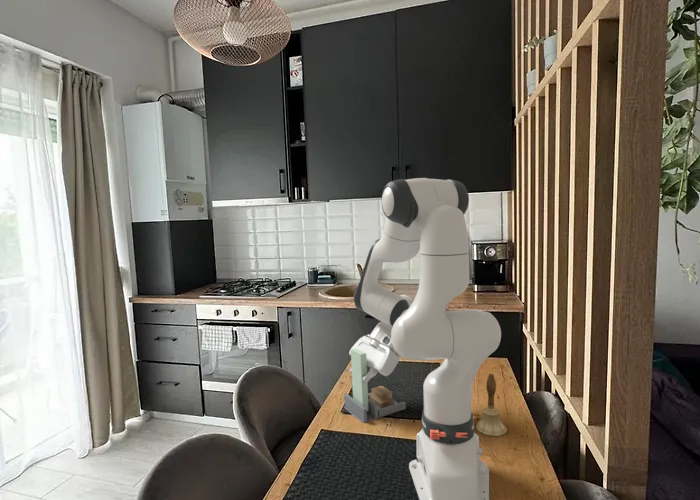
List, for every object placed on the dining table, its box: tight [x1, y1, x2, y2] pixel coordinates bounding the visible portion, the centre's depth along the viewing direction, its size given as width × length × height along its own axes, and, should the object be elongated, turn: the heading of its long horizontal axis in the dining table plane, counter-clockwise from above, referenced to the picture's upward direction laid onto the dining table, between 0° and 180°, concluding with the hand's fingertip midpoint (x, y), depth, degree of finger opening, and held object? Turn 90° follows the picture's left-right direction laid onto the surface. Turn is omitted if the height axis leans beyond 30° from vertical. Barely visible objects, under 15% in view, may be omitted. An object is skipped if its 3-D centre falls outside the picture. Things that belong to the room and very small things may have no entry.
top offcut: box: [370, 385, 393, 403], centre depth 130 cm, size 4×6×2 cm, turn 29°
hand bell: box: [475, 373, 508, 437], centre depth 115 cm, size 8×8×16 cm
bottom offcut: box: [370, 395, 396, 409], centre depth 130 cm, size 5×7×2 cm
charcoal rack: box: [343, 392, 407, 424], centre depth 128 cm, size 16×12×5 cm
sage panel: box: [350, 348, 369, 411], centre depth 125 cm, size 2×6×18 cm, turn 29°
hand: (357, 377), depth 125 cm, fingers closed on sage panel, 6 cm apart
